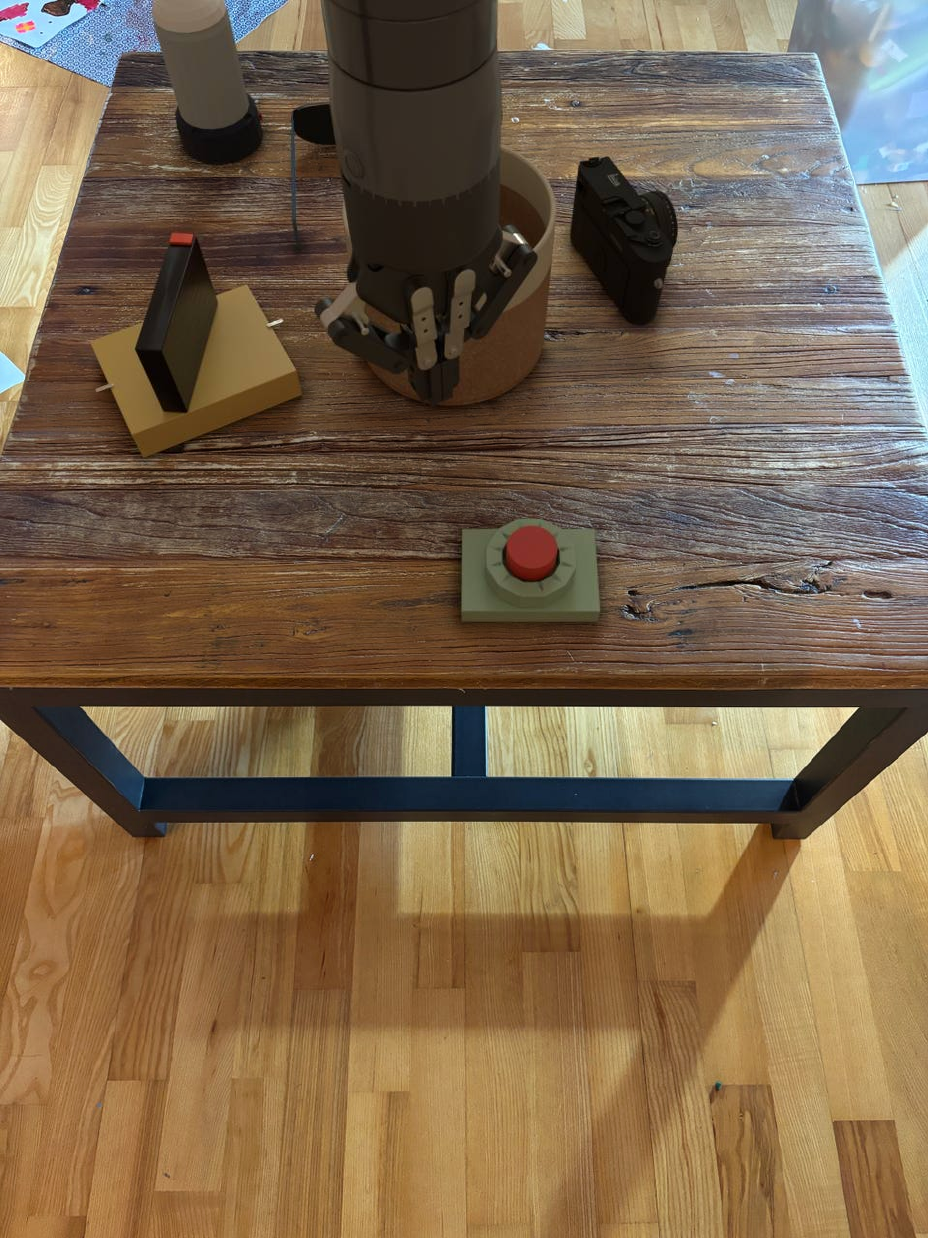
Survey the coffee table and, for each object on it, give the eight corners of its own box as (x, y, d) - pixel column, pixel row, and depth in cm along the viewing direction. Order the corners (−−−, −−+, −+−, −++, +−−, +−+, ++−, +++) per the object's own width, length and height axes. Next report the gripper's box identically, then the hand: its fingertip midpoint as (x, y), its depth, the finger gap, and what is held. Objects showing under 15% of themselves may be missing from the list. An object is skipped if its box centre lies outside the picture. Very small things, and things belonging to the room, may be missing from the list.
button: (506, 580, 66) (507, 568, 64) (505, 537, 67) (506, 525, 66) (556, 581, 66) (558, 568, 64) (554, 538, 67) (556, 525, 66)
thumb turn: (187, 413, 73) (160, 348, 66) (162, 411, 73) (132, 346, 66) (218, 302, 78) (195, 231, 72) (195, 301, 78) (170, 230, 72)
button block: (461, 621, 68) (461, 599, 64) (462, 540, 71) (461, 515, 68) (597, 622, 68) (603, 599, 64) (592, 540, 71) (597, 515, 68)
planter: (401, 256, 85) (390, 116, 72) (566, 299, 82) (583, 161, 70) (332, 382, 78) (306, 251, 66) (509, 433, 75) (517, 306, 63)
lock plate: (130, 463, 74) (117, 438, 72) (89, 371, 79) (75, 344, 76) (314, 390, 78) (308, 364, 75) (265, 305, 82) (258, 277, 79)
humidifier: (274, 116, 94) (212, -185, 72) (247, 169, 90) (174, -131, 68) (199, 105, 95) (115, -195, 72) (169, 157, 91) (72, -143, 69)
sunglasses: (468, 135, 92) (468, 92, 88) (479, 254, 87) (480, 214, 83) (296, 145, 92) (287, 102, 87) (298, 264, 87) (289, 225, 82)
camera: (702, 310, 81) (724, 236, 74) (631, 336, 80) (646, 262, 73) (624, 209, 87) (638, 131, 80) (557, 231, 86) (565, 154, 79)
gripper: (504, 49, 45) (497, 315, 60) (252, 138, 42) (313, 392, 57) (586, 138, 42) (556, 393, 57) (320, 240, 39) (365, 478, 54)
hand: (434, 392), depth 57 cm, fingers closed
